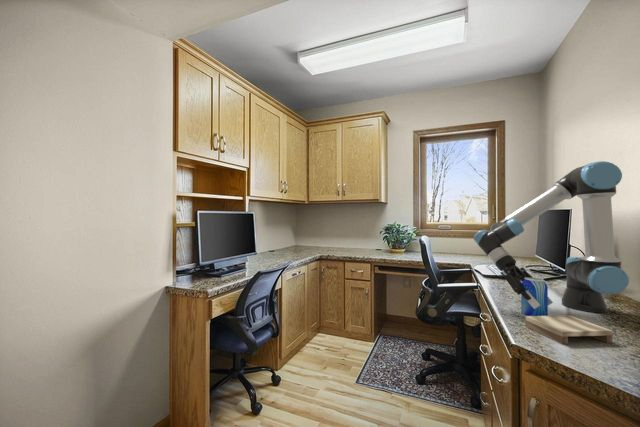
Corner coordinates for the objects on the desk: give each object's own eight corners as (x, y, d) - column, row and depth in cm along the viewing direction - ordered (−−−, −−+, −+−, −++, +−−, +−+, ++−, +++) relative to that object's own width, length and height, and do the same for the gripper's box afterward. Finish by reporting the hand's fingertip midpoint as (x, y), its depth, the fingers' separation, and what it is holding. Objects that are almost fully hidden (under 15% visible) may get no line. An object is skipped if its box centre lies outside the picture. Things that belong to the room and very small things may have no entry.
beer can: (552, 323, 105) (552, 282, 106) (528, 321, 107) (528, 280, 107) (539, 315, 114) (539, 277, 114) (517, 313, 115) (517, 276, 115)
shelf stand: (569, 325, 103) (569, 315, 103) (612, 342, 89) (612, 330, 89) (525, 326, 101) (525, 316, 101) (562, 344, 87) (562, 331, 87)
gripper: (510, 262, 129) (550, 306, 114) (481, 265, 120) (520, 313, 105) (522, 253, 124) (565, 297, 109) (493, 255, 115) (536, 304, 101)
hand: (543, 305), depth 107 cm, fingers closed on beer can, 8 cm apart
